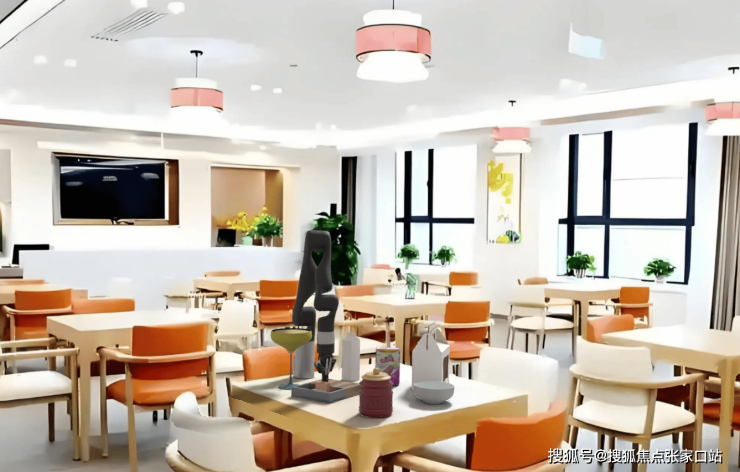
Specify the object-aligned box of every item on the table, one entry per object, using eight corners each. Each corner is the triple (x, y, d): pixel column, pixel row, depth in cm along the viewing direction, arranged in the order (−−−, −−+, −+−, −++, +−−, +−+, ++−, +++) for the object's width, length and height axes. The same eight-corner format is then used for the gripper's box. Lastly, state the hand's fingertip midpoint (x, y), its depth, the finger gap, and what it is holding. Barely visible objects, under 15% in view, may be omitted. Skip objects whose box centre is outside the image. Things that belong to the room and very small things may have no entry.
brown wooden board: (307, 391, 315) (307, 382, 315) (324, 387, 325) (324, 378, 325) (345, 398, 304) (345, 388, 304) (362, 393, 314) (362, 383, 314)
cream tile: (314, 388, 307) (314, 393, 307) (307, 390, 303) (307, 395, 303) (326, 390, 304) (326, 395, 304) (319, 392, 300) (319, 397, 300)
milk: (350, 381, 337) (351, 334, 337) (341, 379, 341) (341, 332, 341) (359, 379, 342) (360, 332, 341) (350, 377, 346) (351, 331, 345)
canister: (372, 420, 270) (372, 372, 269) (352, 412, 280) (352, 366, 280) (399, 415, 277) (400, 368, 277) (379, 408, 288) (379, 363, 288)
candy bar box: (374, 385, 331) (375, 348, 330) (375, 382, 336) (376, 347, 335) (399, 385, 329) (400, 349, 329) (400, 383, 334) (400, 347, 334)
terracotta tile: (318, 392, 309) (315, 393, 307) (318, 380, 309) (315, 381, 307) (330, 394, 306) (327, 395, 304) (329, 382, 305) (326, 383, 304)
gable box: (441, 392, 317) (442, 328, 316) (411, 390, 320) (412, 326, 320) (449, 382, 338) (450, 322, 338) (421, 380, 342) (422, 320, 341)
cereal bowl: (462, 403, 297) (462, 386, 297) (429, 408, 288) (430, 390, 288) (437, 395, 312) (437, 378, 312) (404, 399, 303) (405, 382, 303)
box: (291, 396, 305) (291, 387, 305) (307, 391, 315) (307, 382, 315) (329, 403, 294) (329, 393, 294) (345, 398, 304) (345, 388, 304)
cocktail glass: (263, 389, 317) (264, 332, 317) (279, 381, 335) (280, 327, 335) (302, 392, 313) (303, 334, 312) (316, 384, 330) (317, 329, 330)
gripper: (328, 339, 316) (327, 379, 316) (308, 342, 305) (308, 384, 305) (342, 340, 312) (341, 381, 312) (323, 344, 301) (322, 387, 301)
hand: (325, 382), depth 308 cm, fingers closed
